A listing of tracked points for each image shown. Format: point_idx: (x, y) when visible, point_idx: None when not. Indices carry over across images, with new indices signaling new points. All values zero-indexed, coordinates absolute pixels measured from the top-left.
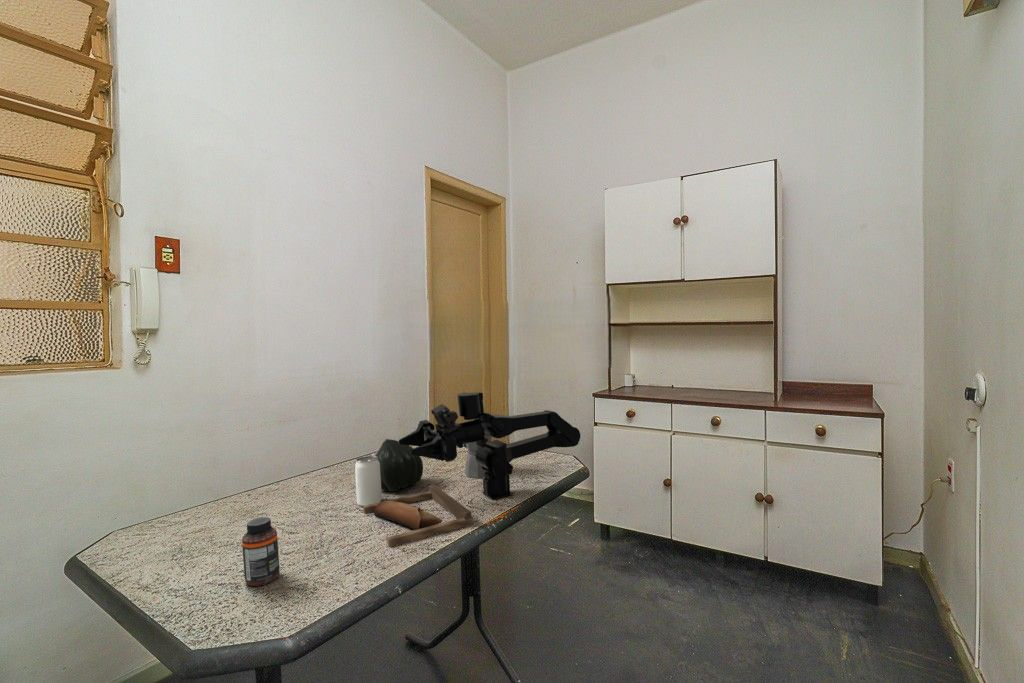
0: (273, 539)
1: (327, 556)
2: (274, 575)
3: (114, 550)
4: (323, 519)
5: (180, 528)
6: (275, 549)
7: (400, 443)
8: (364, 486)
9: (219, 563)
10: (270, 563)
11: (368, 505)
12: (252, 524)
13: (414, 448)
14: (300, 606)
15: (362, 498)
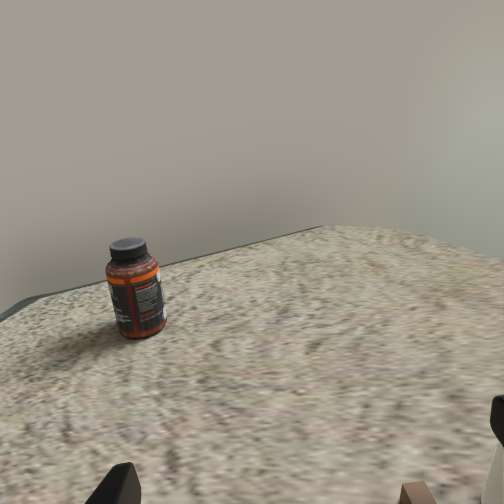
0: (110, 279)
1: (146, 396)
2: (120, 329)
3: (337, 234)
4: (377, 391)
5: (390, 253)
6: (116, 297)
7: (498, 431)
8: (498, 451)
9: (239, 290)
10: (114, 308)
11: (428, 501)
12: (119, 240)
13: (106, 494)
14: (4, 364)
15: (487, 477)
